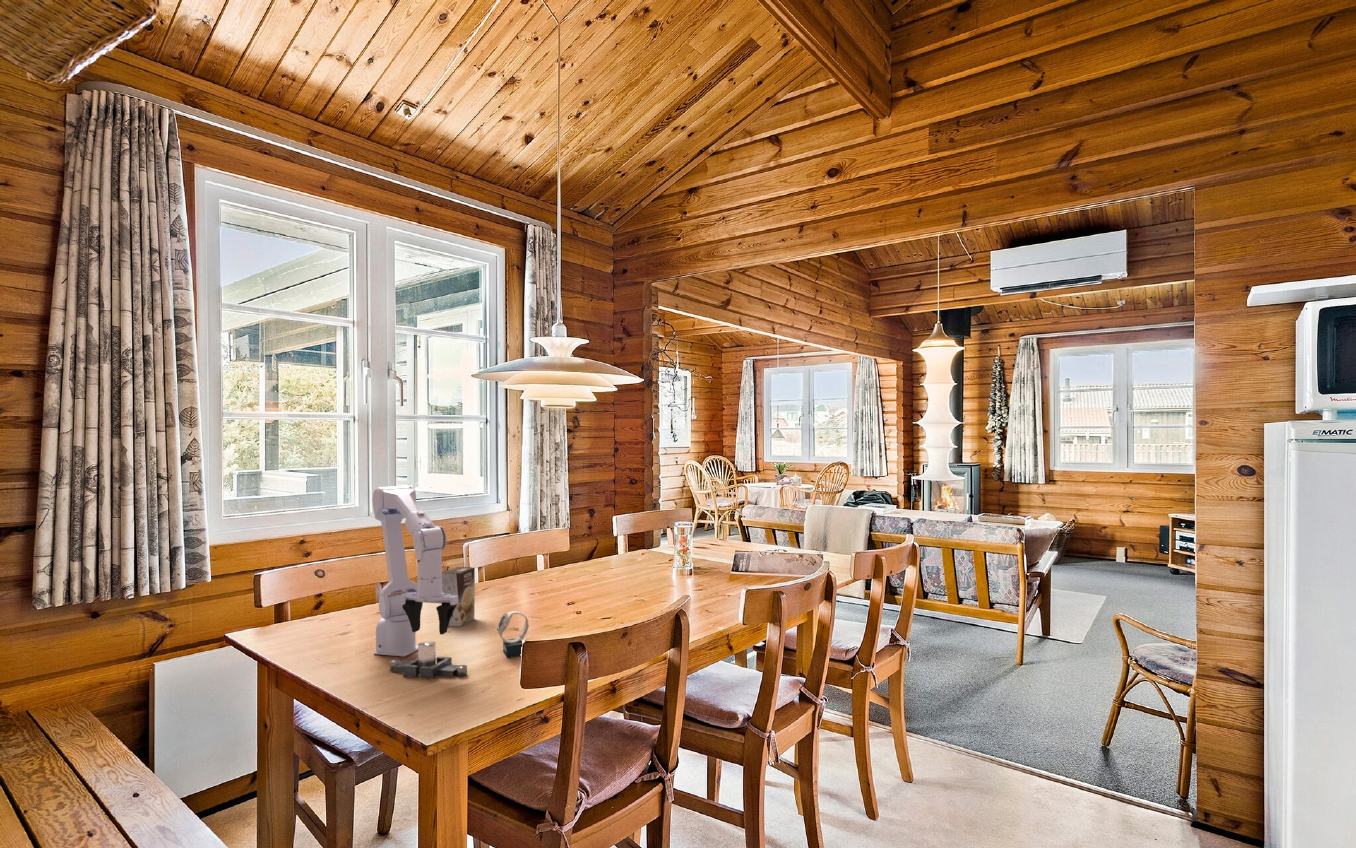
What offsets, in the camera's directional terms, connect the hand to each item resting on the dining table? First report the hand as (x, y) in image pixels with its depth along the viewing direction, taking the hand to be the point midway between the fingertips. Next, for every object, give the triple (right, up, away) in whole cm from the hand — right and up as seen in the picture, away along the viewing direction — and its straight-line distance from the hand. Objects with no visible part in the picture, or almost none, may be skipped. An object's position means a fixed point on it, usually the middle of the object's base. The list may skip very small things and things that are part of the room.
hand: (429, 632), depth 170 cm
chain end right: (+5, -9, -2) cm, 11 cm away
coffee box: (-6, -10, +41) cm, 43 cm away
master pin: (0, -9, -2) cm, 10 cm away
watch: (+18, -10, +12) cm, 23 cm away
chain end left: (-5, -9, 0) cm, 11 cm away
